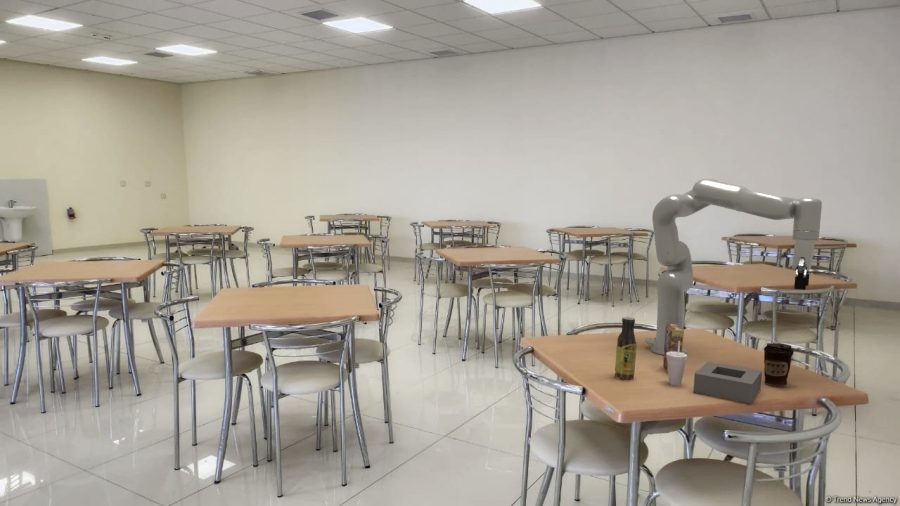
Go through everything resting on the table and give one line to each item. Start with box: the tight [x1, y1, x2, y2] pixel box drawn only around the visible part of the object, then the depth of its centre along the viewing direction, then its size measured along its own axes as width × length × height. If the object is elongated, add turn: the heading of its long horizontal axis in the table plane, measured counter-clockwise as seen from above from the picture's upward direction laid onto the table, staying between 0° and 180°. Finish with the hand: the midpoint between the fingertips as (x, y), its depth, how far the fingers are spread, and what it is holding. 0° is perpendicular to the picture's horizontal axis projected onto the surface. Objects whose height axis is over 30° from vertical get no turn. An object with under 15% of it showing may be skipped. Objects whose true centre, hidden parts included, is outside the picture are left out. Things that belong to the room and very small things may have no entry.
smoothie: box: [666, 341, 688, 386], centre depth 191 cm, size 6×6×14 cm
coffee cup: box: [763, 342, 794, 388], centre depth 191 cm, size 9×8×13 cm
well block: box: [693, 361, 763, 405], centre depth 185 cm, size 16×16×6 cm
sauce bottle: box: [614, 316, 638, 380], centre depth 196 cm, size 6×6×20 cm
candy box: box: [662, 324, 685, 373], centre depth 205 cm, size 9×4×15 cm, turn 172°
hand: (801, 287), depth 198 cm, fingers open, 9 cm apart
